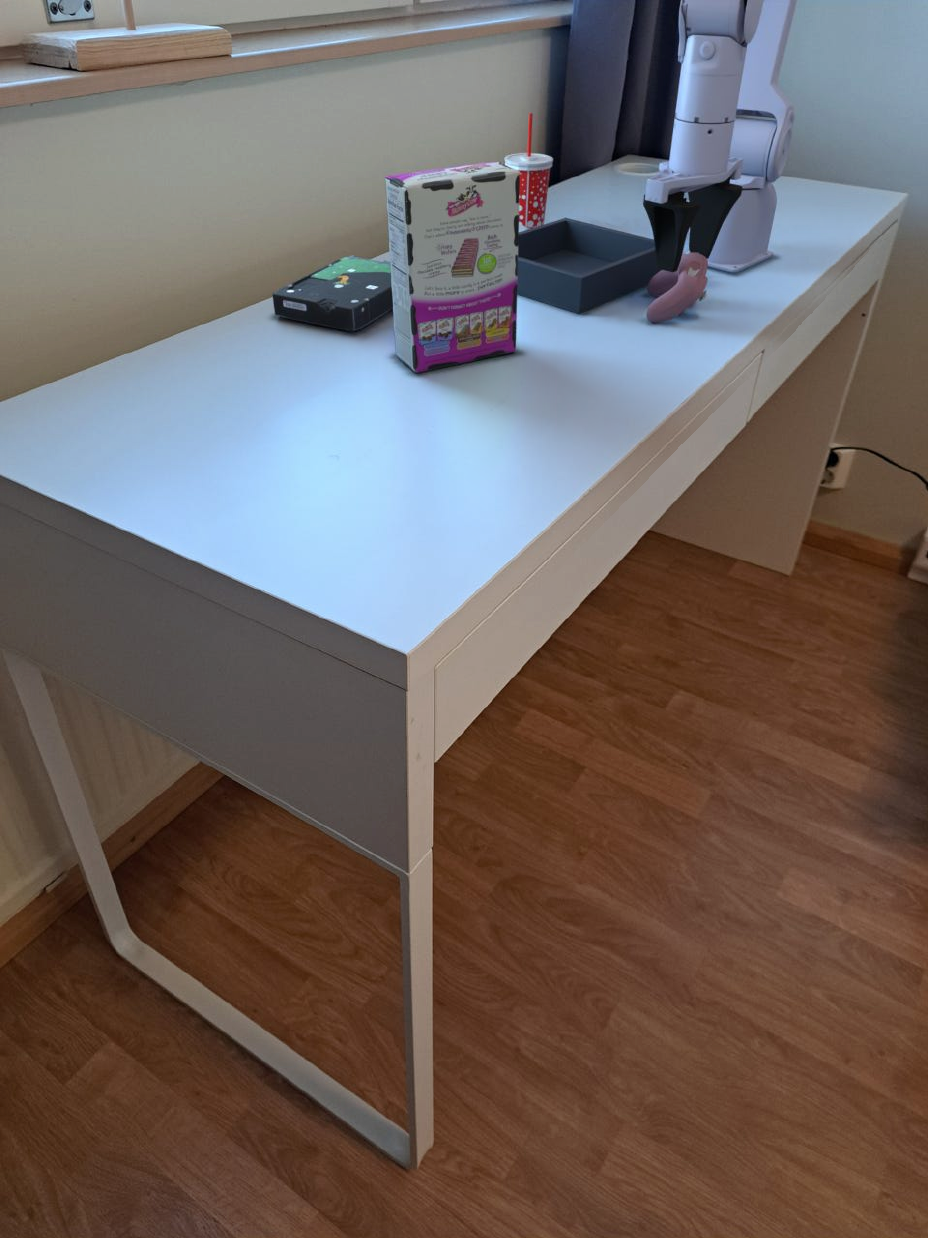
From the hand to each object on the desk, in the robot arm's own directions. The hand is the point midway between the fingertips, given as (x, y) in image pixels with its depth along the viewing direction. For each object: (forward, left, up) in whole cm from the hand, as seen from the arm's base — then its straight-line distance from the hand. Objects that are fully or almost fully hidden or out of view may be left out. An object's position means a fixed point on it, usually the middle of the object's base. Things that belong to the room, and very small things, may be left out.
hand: (683, 263), depth 97 cm
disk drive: (+24, -26, -5) cm, 36 cm away
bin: (+1, -14, -5) cm, 15 cm away
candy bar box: (+26, -8, -5) cm, 28 cm away
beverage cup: (-10, -30, -5) cm, 32 cm away
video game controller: (+1, 0, -5) cm, 5 cm away
